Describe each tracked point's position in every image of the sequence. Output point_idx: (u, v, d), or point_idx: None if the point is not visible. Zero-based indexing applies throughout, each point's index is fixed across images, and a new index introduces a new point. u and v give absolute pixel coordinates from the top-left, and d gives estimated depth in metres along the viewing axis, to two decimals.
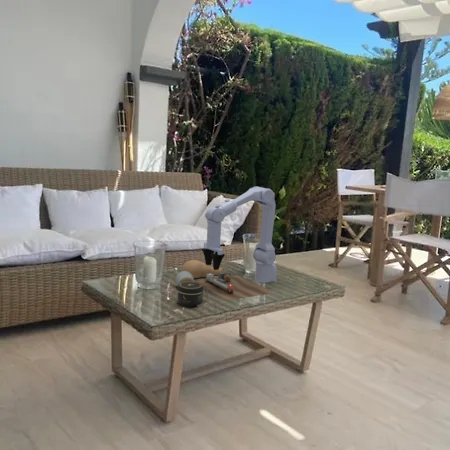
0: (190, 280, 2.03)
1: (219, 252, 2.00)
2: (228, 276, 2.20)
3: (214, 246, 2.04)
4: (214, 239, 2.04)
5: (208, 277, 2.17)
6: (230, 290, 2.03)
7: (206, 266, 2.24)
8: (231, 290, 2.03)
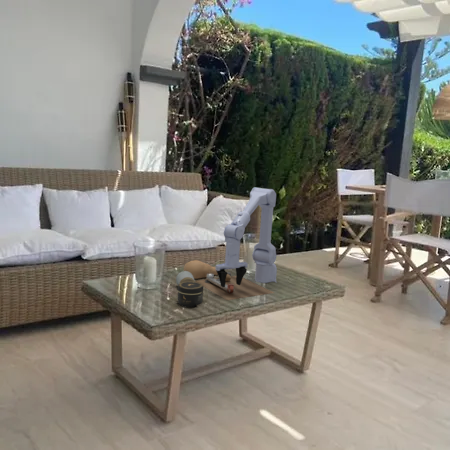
0: (191, 280, 2.03)
1: (216, 267, 1.99)
2: (228, 276, 2.20)
3: (225, 262, 2.01)
4: (225, 256, 2.01)
5: (208, 277, 2.17)
6: (230, 290, 2.03)
7: (208, 266, 2.24)
8: (231, 290, 2.03)
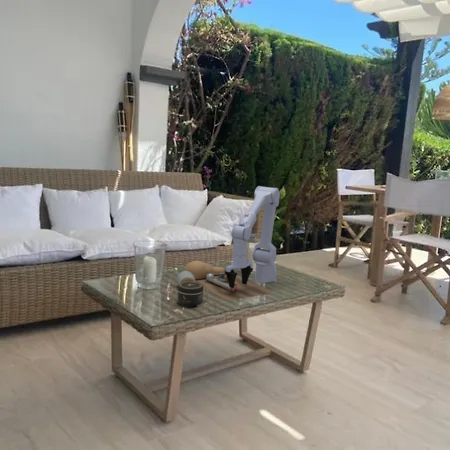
0: (191, 280, 2.03)
1: (226, 269, 2.00)
2: None
3: (233, 263, 2.03)
4: (233, 257, 2.03)
5: (208, 277, 2.17)
6: (234, 289, 2.04)
7: (209, 266, 2.24)
8: (235, 289, 2.04)
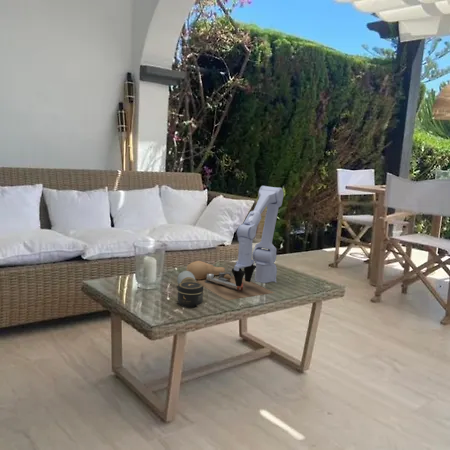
0: (192, 280, 2.03)
1: (234, 268, 2.02)
2: (228, 276, 2.20)
3: (239, 262, 2.06)
4: (240, 255, 2.06)
5: (209, 277, 2.16)
6: (240, 288, 2.06)
7: (211, 267, 2.24)
8: (241, 288, 2.06)
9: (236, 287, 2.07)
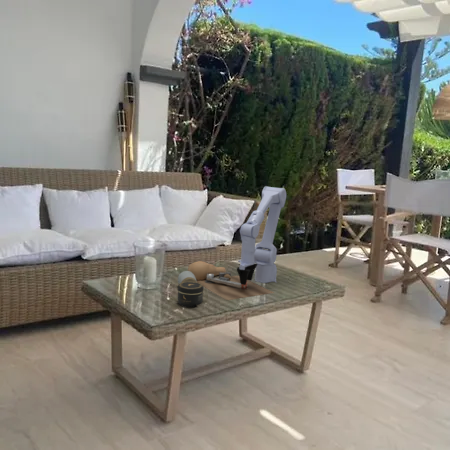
0: (192, 280, 2.04)
1: (240, 267, 2.04)
2: (228, 276, 2.20)
3: (243, 261, 2.08)
4: (243, 254, 2.08)
5: (210, 277, 2.16)
6: (245, 286, 2.09)
7: (212, 267, 2.24)
8: (246, 286, 2.09)
9: (240, 286, 2.09)
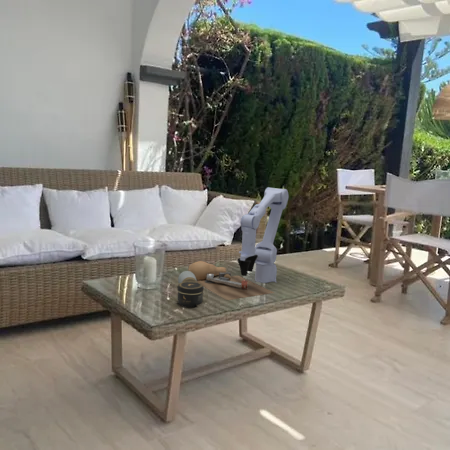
0: (193, 280, 2.04)
1: (241, 258, 2.03)
2: (228, 276, 2.20)
3: (244, 252, 2.07)
4: (244, 245, 2.07)
5: (210, 277, 2.16)
6: (245, 286, 2.09)
7: (213, 267, 2.24)
8: (246, 286, 2.10)
9: (241, 285, 2.10)
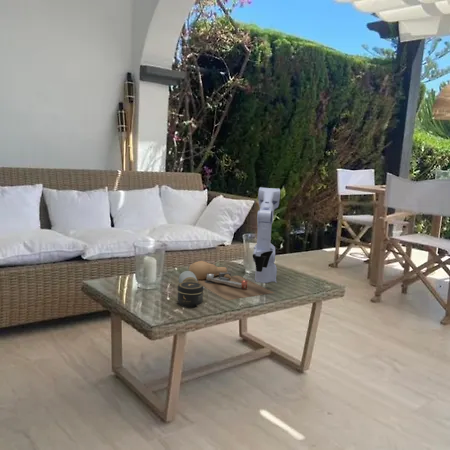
0: (193, 280, 2.04)
1: (256, 253, 2.00)
2: (228, 276, 2.20)
3: (259, 247, 2.04)
4: (259, 241, 2.04)
5: (210, 277, 2.16)
6: (245, 286, 2.09)
7: (213, 267, 2.24)
8: (246, 286, 2.10)
9: (241, 285, 2.10)
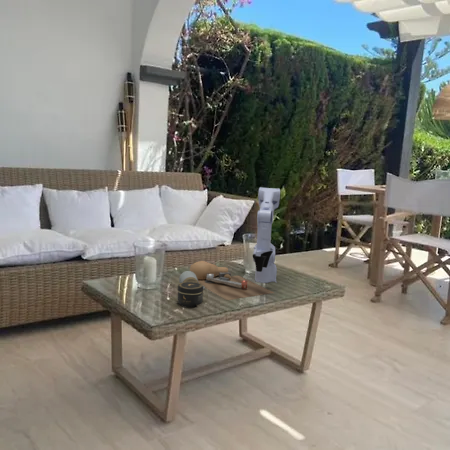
0: (194, 280, 2.04)
1: (256, 253, 2.00)
2: (228, 276, 2.20)
3: (259, 247, 2.04)
4: (259, 241, 2.04)
5: (210, 277, 2.16)
6: (245, 286, 2.09)
7: (214, 267, 2.24)
8: (246, 286, 2.10)
9: (241, 285, 2.10)
